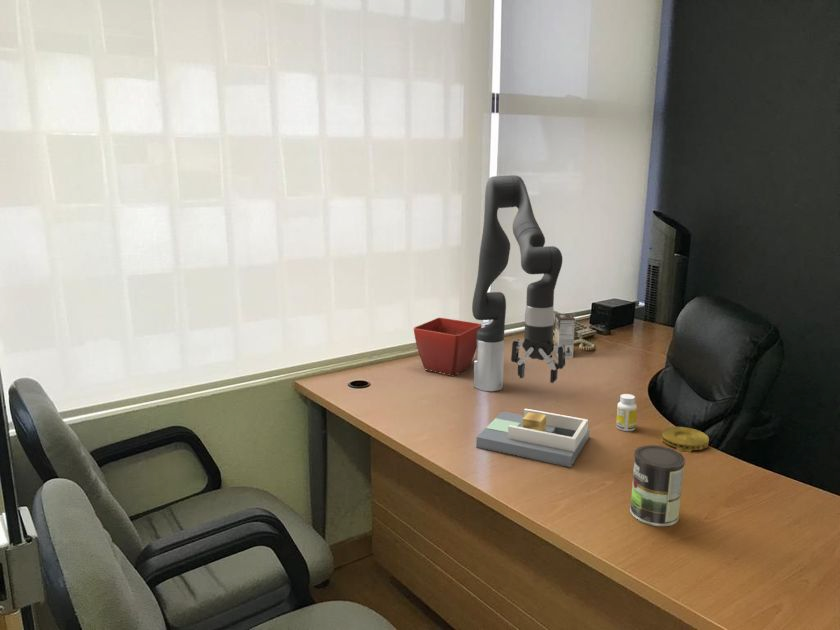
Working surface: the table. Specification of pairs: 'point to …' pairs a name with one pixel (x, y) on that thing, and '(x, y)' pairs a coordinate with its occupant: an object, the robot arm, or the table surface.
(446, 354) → the plant pot
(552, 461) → the walled pit deck
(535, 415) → the mustard block
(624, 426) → the supplement bottle
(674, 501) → the coffee can
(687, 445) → the gold flat disc
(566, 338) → the coffee box
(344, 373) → the table surface
